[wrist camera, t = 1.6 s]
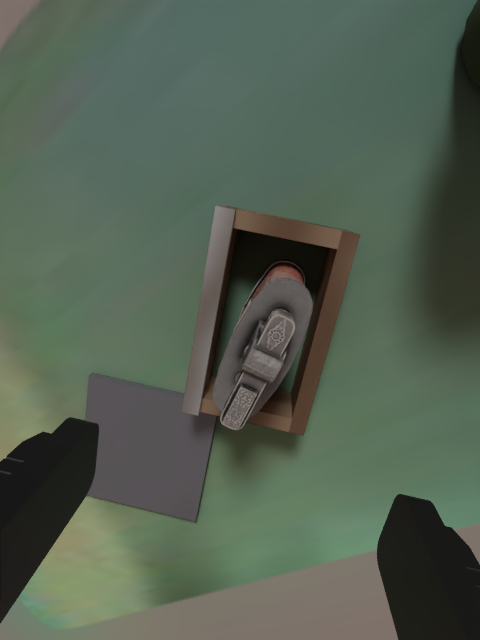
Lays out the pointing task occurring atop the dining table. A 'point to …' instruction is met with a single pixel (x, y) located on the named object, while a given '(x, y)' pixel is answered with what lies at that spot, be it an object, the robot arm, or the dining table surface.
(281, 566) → the dining table surface
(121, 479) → the mat
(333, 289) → the holder
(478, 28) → the character mug
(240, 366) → the lighter
